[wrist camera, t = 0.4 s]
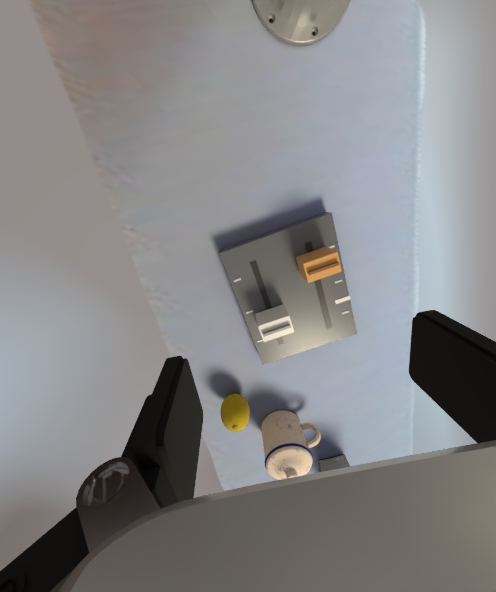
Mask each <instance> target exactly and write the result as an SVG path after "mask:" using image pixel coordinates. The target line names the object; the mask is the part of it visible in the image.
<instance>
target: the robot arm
mask: <svg viewBox="0 0 496 592" xmlns="http://www.w3.org/2000/svg"><path fill="white" fill-rule="evenodd" d="M252 1H253V5H254V8H255V10H256V12H257V15H258V17H259V19H260V20H261V22H262V24H263V25H264V27H265V28H266V29H267V30H268V31H269V32H270V34H271V35H272V36H274V37H275V38H277V39H278V40H279V41H281V42H283V43H286V44H288V45H293V46H308V45H311V44H314V43H316V42H318V41H320V40H321V39H323V38H325V37H326V36H327V35H328V34H329V33H330V32H331V31H332V30H333V29H334V28H335V27H336V25H337V24H338V23H339V21H340V20H341V18H342V16H343V15H344V13H345V11H346V9H347V7H348V5H349V3H350V0H252ZM269 21H272V22H273V23H270V22H269ZM312 33H313V34H314V35H315V36H313V35H312ZM409 374H410V377H411V378H412V380H413V381H414V382H415V383H416V384H417V385H418V386H419V387H420V388H421V389H422V390H424V391H425V392H426V393H427V394H428V395H429V396H430V397H431V398H432V399H433V400H434V401H435V402H436V403H437V404H438V405H439V406H440V407H441V408H442V409H443V410H444V411H445V412H446V413H447V414H448V415H449V416H450V417H451V418H453V420H454V421H455V422H457V424H458V425H459V426H461V427H462V428H463V429H464V430H465V431H466V432H467V433H468V434H469V435H470V436H471V437H472V438H473V439H474V440H475V441H476V442H477V444H471V445H466V446H460V447H454V448H449V449H444V450H438V451H432V452H427V453H422V454H416V455H410V456H405V457H399V458H394V459H388V460H383V461H378V462H372V463H367V464H361V465H356V466H351V467H345V468H340V469H335V470H329V471H324V472H319V473H314V474H308V475H303V476H298V477H293V478H287V479H282V480H277V481H272V482H266V483H261V484H256V485H251V486H247V487H242V488H237V489H232V490H228V491H223V492H218V493H213V494H209V495H205V496H201V497H197V498H193V496H194V487H195V480H196V472H197V463H198V456H199V447H200V439H201V431H202V423H203V410H202V406H201V403H200V399H199V396H198V393H197V389H196V386H195V383H194V379H193V376H192V372H191V369H190V366H189V362H188V360H187V359H183V358H182V356H177V357H171V358H167V359H166V361H165V363H164V366H163V368H162V371H161V374H160V376H159V379H158V381H157V383H156V386H155V388H154V391H153V393H152V395H149V396H148V397H147V398H146V400H145V402H144V405H143V407H142V409H141V412H140V414H139V417H138V419H137V421H136V423H135V426H134V428H133V430H132V433H131V435H130V437H129V440H128V442H127V445H126V447H125V449H124V452H123V454H122V456H121V457H118V458H114V459H111V460H109V461H107V462H105V463H103V464H102V465H100V466H99V467H97V468H96V469H95V470H94V471H93V472H92V473H91V474H90V475H89V476H88V477H87V478H86V479H85V481H84V482H83V484H82V485H81V487H80V489H79V491H78V494H77V497H76V508H75V509H74V510H73V511H71V512H70V513H69V514H68V515H67V516H66V517H64V518H63V519H62V520H61V521H60V522H58V523H57V524H56V525H55V526H54V527H53V528H51V529H50V530H49V531H48V532H47V533H45V534H44V535H43V536H42V537H41V538H39V539H38V540H37V541H36V542H35V543H34V544H32V545H31V546H30V547H29V548H27V549H26V550H25V551H24V552H23V553H22V554H21V555H19V556H18V557H17V558H16V559H14V560H13V561H12V562H11V563H10V564H9V565H7V566H6V567H5V568H4V569H3V570H1V571H0V592H496V342H495V341H493V340H491V339H489V338H487V337H485V336H483V335H481V334H479V333H477V332H476V331H474V330H472V329H470V328H468V327H466V326H464V325H462V324H460V323H459V322H457V321H455V320H453V319H451V318H449V317H447V316H445V315H443V314H441V313H439V312H438V311H435V310H430V311H425V312H419V313H417V315H416V317H414V318H413V321H412V335H411V349H410V363H409Z"/></svg>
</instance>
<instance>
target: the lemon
mask: <svg viewBox="0 0 496 592" xmlns="http://www.w3.org/2000/svg"><path fill="white" fill-rule="evenodd" d="M249 416H250V408H249V404H248V402H247V400H246V399H245V397H243V396H242V395H240V394H231V395H229V396H227V397H226V398H225V399H224V401H223V403H222V406H221V418H222V422H223V424H224V426H225V427H226V428H227V429H229V430H231V431H239V430H241V429H243V428H244V427H245V426H246V424H247V423H248V420H249Z"/></svg>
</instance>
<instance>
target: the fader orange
mask: <svg viewBox="0 0 496 592" xmlns="http://www.w3.org/2000/svg"><path fill="white" fill-rule="evenodd" d="M296 261H297V265H298V268H299V272H300V275H301V276H302V277H303V278H304V279H305V280H306V281H307V282H308V283H310V282H313V281H316V280H319V279H322V278H325V277H327V276H330V275H333V274H336V273H339V272H342V270H341V266H340V261H339V256H338V252H337V251H335V250H333V249H331V248H329V247H327V246H326V247H323V248H320V249H317V250H314V251H311V252H309V253H306V254H303V255H300V256H297V257H296Z"/></svg>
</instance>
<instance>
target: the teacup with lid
mask: <svg viewBox="0 0 496 592" xmlns="http://www.w3.org/2000/svg"><path fill="white" fill-rule="evenodd" d="M307 428H311V429H313V430H315V431H316V436H315V438H314V439H313V440H311V441H309V442H306V439H305V435H304V432H303V430H304V429H307ZM261 430H262V437H263V445H264V452H265V467H266V469H267V471H268V473H269V474H270V475H271V476H272V477H274V478H276V479H278V480H282V479H287V478H293V477H298V476H303V475H305V474H306V473H307V472H308V471H309V470H310V468H311V466H312V460H313V457H312V454H311V452H310V450H309V448H311V447H314V446H315V445H317V444H318V443H319V441H320V439H321V434H320V431H319V430H318V428H317V427H316V426H315V425H314V424H312V423H303V424H301V423H300V420H299V418H298V417H297V415H296V414H294V413H292V412H290V411H285V410H280V411H275V412H273V413H271V414H269V415H268V416H267V417H266V418H265V419H264V420H263V422H262V425H261Z"/></svg>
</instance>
